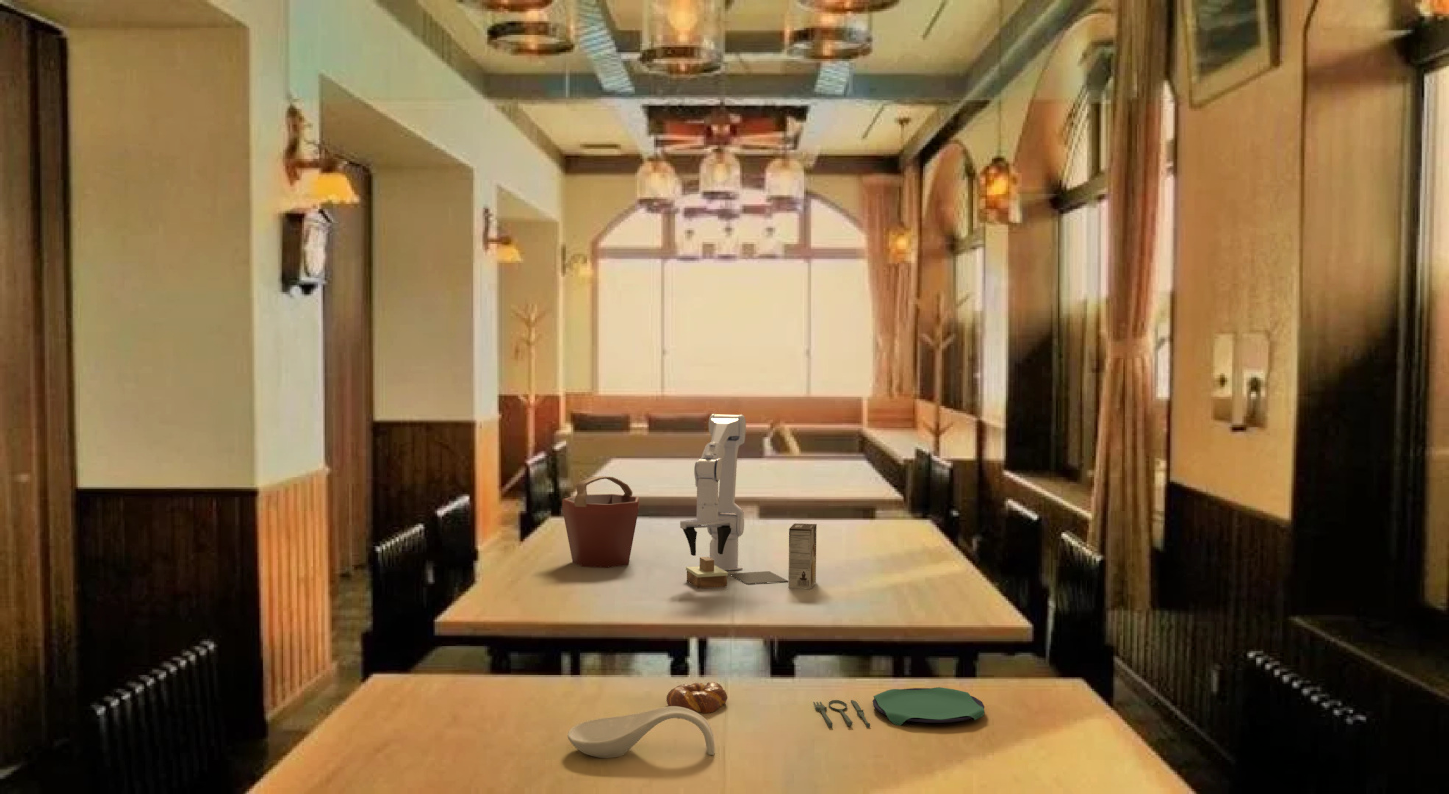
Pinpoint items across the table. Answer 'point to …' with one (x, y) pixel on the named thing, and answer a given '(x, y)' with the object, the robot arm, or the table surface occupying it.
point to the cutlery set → (917, 706)
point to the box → (707, 581)
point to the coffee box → (802, 555)
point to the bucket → (600, 525)
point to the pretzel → (698, 697)
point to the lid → (706, 569)
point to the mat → (758, 577)
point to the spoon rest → (630, 731)
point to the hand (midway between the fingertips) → (706, 554)
